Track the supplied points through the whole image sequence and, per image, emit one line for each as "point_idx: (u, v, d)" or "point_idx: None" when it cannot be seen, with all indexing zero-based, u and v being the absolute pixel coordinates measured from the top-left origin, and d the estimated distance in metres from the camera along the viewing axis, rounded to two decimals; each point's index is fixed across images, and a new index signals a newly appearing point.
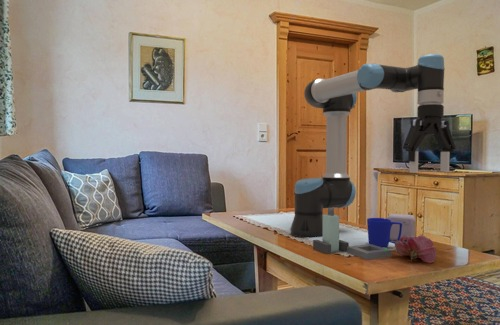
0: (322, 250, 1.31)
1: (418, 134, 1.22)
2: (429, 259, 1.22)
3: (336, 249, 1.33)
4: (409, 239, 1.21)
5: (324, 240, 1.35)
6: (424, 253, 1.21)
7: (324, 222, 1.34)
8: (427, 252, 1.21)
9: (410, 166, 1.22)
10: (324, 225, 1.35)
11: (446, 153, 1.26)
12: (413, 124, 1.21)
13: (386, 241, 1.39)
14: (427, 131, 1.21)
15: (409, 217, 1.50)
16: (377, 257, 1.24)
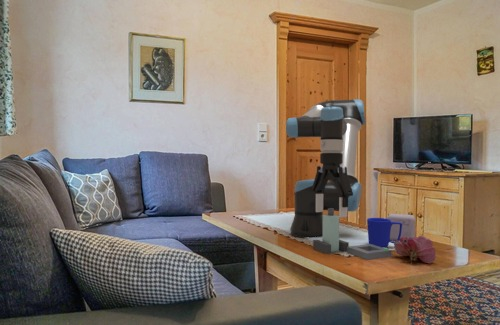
0: (322, 250, 1.31)
1: None
2: (429, 259, 1.22)
3: (336, 249, 1.33)
4: (409, 239, 1.20)
5: (324, 240, 1.35)
6: (424, 253, 1.20)
7: (324, 222, 1.34)
8: (427, 252, 1.21)
9: None
10: (324, 225, 1.35)
11: None
12: None
13: (386, 241, 1.39)
14: (321, 177, 1.36)
15: (409, 217, 1.50)
16: (377, 257, 1.24)
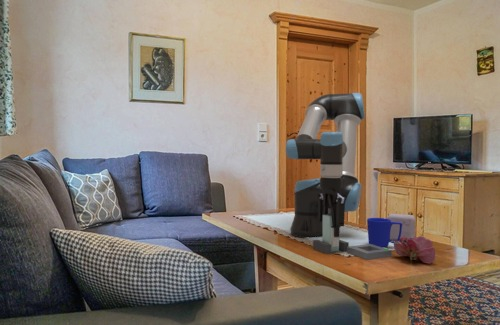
0: (322, 250, 1.31)
1: None
2: (428, 260, 1.21)
3: (336, 249, 1.33)
4: (408, 240, 1.20)
5: (324, 240, 1.35)
6: (423, 254, 1.20)
7: (324, 222, 1.34)
8: (426, 253, 1.20)
9: None
10: (324, 225, 1.35)
11: None
12: None
13: (386, 241, 1.39)
14: (323, 203, 1.35)
15: (409, 217, 1.50)
16: (377, 257, 1.24)
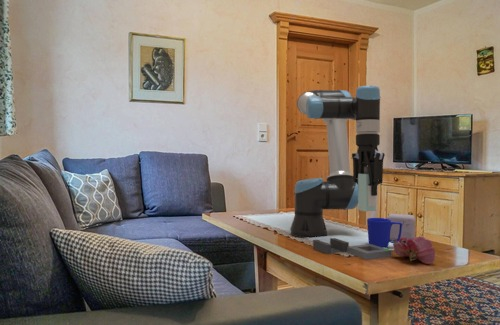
0: (322, 250, 1.31)
1: None
2: (428, 260, 1.21)
3: (373, 209, 1.27)
4: (408, 240, 1.19)
5: (360, 200, 1.28)
6: (423, 254, 1.20)
7: (360, 181, 1.28)
8: (426, 253, 1.20)
9: None
10: (360, 184, 1.29)
11: None
12: None
13: (386, 241, 1.39)
14: (359, 161, 1.29)
15: (409, 217, 1.50)
16: (377, 257, 1.24)
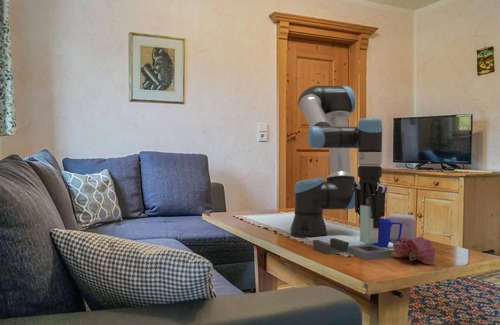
0: (322, 250, 1.31)
1: None
2: (428, 260, 1.21)
3: (375, 241, 1.27)
4: (408, 240, 1.19)
5: (362, 231, 1.29)
6: (423, 254, 1.19)
7: (362, 213, 1.28)
8: (426, 253, 1.20)
9: None
10: (362, 216, 1.29)
11: None
12: None
13: (386, 241, 1.39)
14: (361, 193, 1.30)
15: (409, 217, 1.50)
16: (377, 257, 1.24)
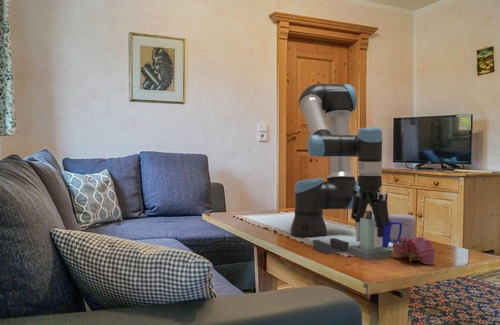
0: (322, 250, 1.31)
1: None
2: (428, 261, 1.20)
3: None
4: (408, 240, 1.19)
5: (362, 244, 1.29)
6: (423, 254, 1.19)
7: (362, 225, 1.29)
8: (426, 253, 1.19)
9: None
10: (362, 229, 1.29)
11: None
12: None
13: (386, 241, 1.39)
14: (360, 201, 1.30)
15: (409, 217, 1.50)
16: (377, 257, 1.24)
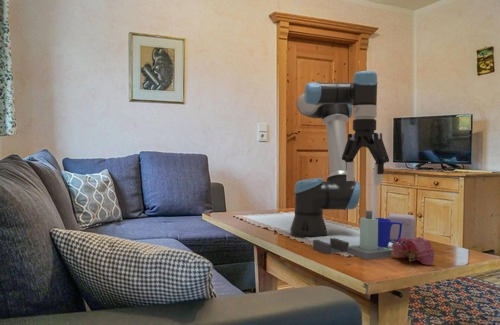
0: (322, 250, 1.31)
1: None
2: (427, 261, 1.20)
3: None
4: (407, 241, 1.18)
5: (362, 244, 1.29)
6: (422, 255, 1.19)
7: (362, 225, 1.29)
8: (425, 254, 1.19)
9: None
10: (362, 229, 1.29)
11: None
12: None
13: (386, 241, 1.39)
14: (353, 144, 1.33)
15: (409, 217, 1.50)
16: (377, 257, 1.24)
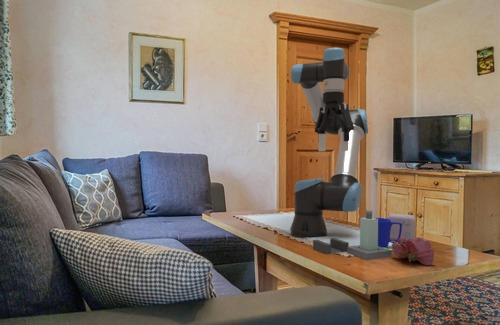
0: (322, 250, 1.31)
1: None
2: (427, 261, 1.19)
3: None
4: (407, 241, 1.18)
5: (362, 244, 1.29)
6: (422, 255, 1.18)
7: (362, 225, 1.29)
8: (425, 254, 1.18)
9: None
10: (362, 229, 1.29)
11: None
12: None
13: (386, 241, 1.39)
14: (324, 116, 1.44)
15: (409, 217, 1.50)
16: (377, 257, 1.24)
